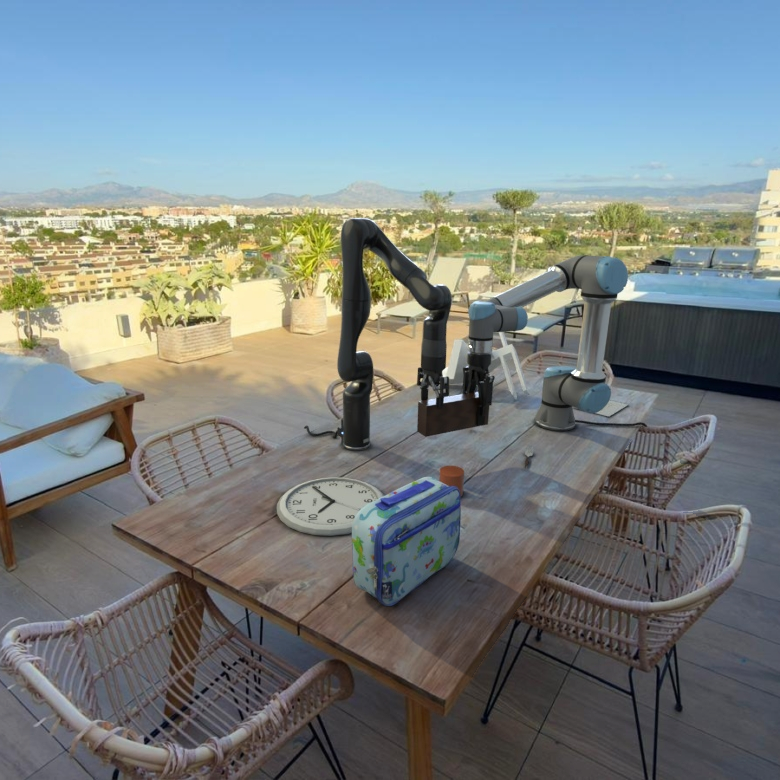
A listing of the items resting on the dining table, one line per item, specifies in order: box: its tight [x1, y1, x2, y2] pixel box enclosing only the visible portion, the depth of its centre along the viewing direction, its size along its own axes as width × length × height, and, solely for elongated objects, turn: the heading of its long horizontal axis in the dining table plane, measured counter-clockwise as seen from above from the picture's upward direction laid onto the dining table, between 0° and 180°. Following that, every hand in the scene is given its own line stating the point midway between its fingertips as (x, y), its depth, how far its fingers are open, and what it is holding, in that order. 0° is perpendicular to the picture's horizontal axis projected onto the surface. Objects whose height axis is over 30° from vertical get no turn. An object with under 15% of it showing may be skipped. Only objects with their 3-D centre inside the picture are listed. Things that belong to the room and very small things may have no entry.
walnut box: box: [416, 391, 490, 438], centre depth 166 cm, size 24×5×10 cm, turn 118°
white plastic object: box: [442, 332, 531, 400], centre depth 245 cm, size 37×45×31 cm
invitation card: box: [573, 400, 629, 418], centre depth 226 cm, size 21×1×15 cm
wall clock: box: [276, 476, 385, 537], centre depth 142 cm, size 30×2×30 cm
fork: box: [524, 445, 535, 469], centre depth 172 cm, size 3×16×2 cm, turn 160°
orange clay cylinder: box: [438, 465, 465, 498], centre depth 150 cm, size 7×7×7 cm
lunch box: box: [351, 476, 462, 607], centre depth 111 cm, size 26×11×21 cm, turn 135°
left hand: (431, 404), depth 160 cm, fingers open, 8 cm apart
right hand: (474, 421), depth 171 cm, fingers closed on walnut box, 5 cm apart
